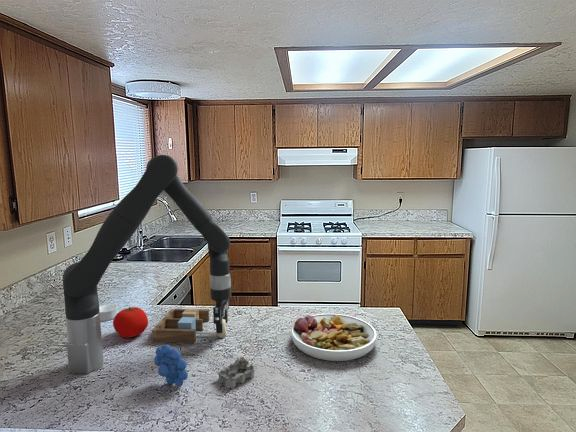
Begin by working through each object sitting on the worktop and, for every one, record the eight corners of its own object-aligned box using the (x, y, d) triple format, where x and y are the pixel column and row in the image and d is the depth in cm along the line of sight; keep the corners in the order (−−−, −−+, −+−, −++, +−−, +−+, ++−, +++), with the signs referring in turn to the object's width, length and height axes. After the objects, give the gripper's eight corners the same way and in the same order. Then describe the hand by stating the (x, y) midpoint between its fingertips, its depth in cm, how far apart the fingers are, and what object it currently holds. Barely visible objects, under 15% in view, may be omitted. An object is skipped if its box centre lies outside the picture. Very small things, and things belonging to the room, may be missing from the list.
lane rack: (194, 343, 135) (194, 331, 135) (152, 341, 136) (151, 330, 136) (209, 319, 155) (209, 309, 154) (172, 318, 156) (172, 308, 155)
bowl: (378, 330, 146) (378, 311, 145) (373, 371, 117) (374, 348, 116) (302, 321, 154) (302, 303, 153) (281, 358, 125) (280, 336, 124)
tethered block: (224, 339, 138) (223, 323, 137) (178, 338, 139) (177, 322, 138) (227, 333, 143) (226, 318, 142) (183, 332, 144) (182, 317, 143)
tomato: (134, 325, 150) (132, 300, 148) (155, 332, 144) (153, 306, 142) (108, 337, 140) (106, 310, 139) (129, 345, 134) (127, 317, 132)
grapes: (145, 387, 109) (142, 348, 107) (161, 375, 115) (159, 338, 113) (177, 397, 104) (175, 356, 103) (193, 384, 110) (191, 345, 109)
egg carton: (244, 367, 120) (244, 355, 119) (258, 377, 114) (258, 364, 114) (214, 379, 113) (214, 366, 113) (228, 391, 108) (228, 377, 107)
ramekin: (89, 321, 154) (89, 311, 154) (105, 312, 163) (104, 303, 162) (108, 323, 152) (107, 312, 152) (122, 314, 161) (122, 304, 160)
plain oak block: (195, 328, 147) (194, 313, 147) (182, 328, 148) (182, 313, 147) (199, 322, 152) (198, 308, 152) (186, 322, 153) (186, 308, 152)
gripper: (226, 292, 130) (228, 336, 133) (234, 279, 144) (235, 319, 147) (204, 292, 131) (207, 336, 133) (215, 279, 145) (216, 319, 147)
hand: (222, 327), depth 140 cm, fingers open, 8 cm apart
